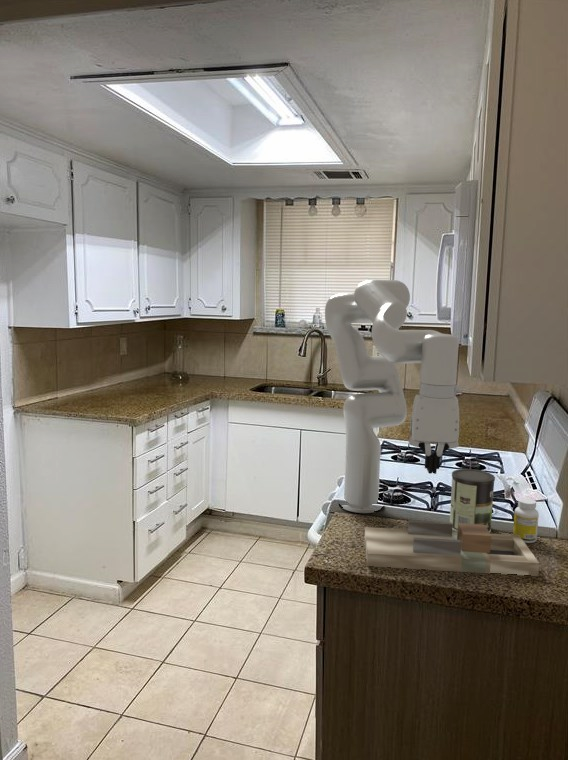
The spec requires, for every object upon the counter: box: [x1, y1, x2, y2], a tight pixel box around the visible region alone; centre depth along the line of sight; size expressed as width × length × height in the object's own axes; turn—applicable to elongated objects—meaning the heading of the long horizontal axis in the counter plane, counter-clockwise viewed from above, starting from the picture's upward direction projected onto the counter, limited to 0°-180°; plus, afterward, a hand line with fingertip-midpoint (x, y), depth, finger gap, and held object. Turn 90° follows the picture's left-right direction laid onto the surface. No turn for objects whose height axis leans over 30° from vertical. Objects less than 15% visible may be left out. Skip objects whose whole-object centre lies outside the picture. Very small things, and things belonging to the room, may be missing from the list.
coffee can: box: [449, 468, 496, 534], centre depth 146 cm, size 10×10×14 cm
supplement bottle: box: [512, 497, 540, 544], centre depth 140 cm, size 5×5×10 cm
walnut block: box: [457, 523, 492, 553], centre depth 129 cm, size 6×6×4 cm
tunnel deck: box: [363, 519, 540, 577], centre depth 131 cm, size 14×36×6 cm, turn 85°
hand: (431, 471), depth 129 cm, fingers closed
